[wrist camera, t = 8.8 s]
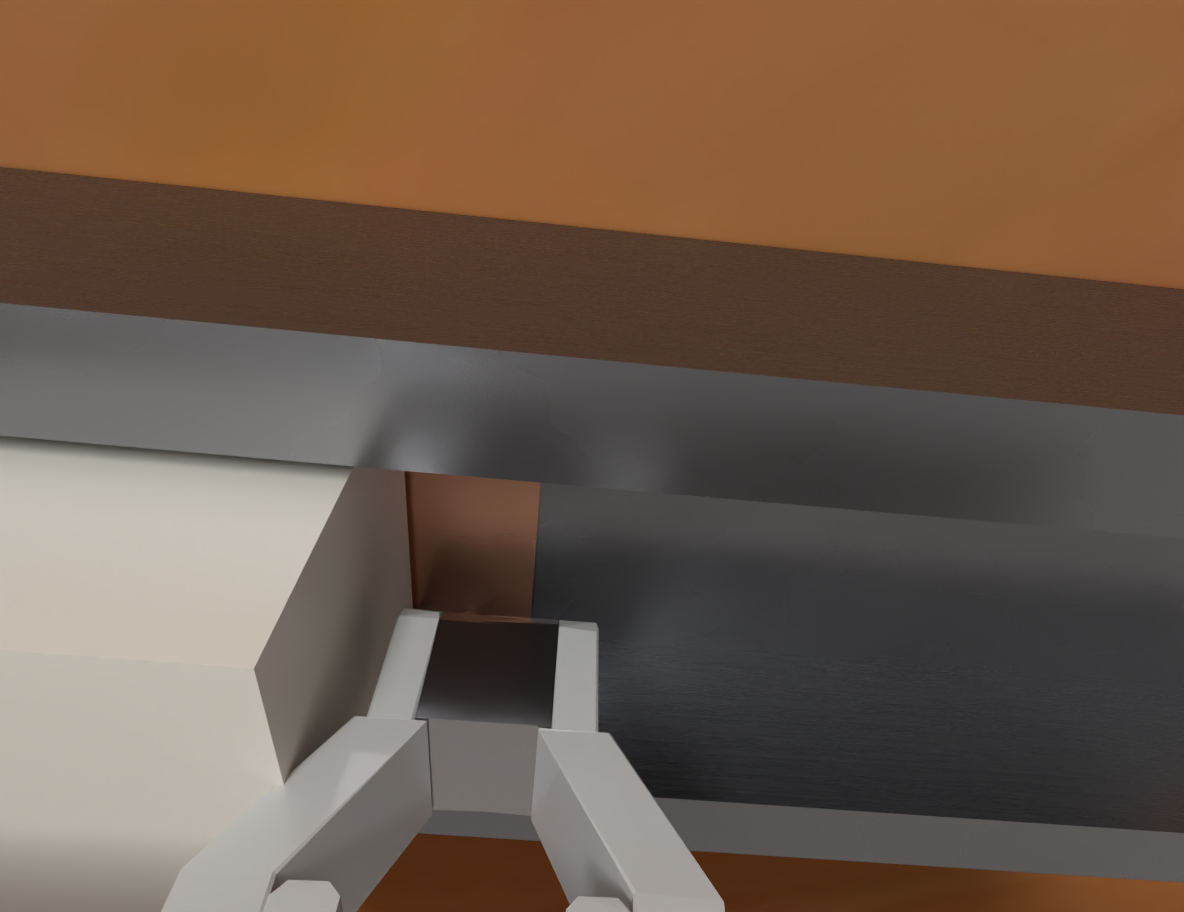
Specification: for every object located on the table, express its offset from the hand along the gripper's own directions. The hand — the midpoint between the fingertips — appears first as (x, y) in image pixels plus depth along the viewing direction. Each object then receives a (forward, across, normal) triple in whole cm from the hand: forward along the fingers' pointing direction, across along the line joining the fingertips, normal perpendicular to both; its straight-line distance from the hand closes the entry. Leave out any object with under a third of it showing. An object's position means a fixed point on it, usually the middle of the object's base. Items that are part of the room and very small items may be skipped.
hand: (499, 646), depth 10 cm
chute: (+4, -3, 0) cm, 5 cm away
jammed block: (+2, +4, 0) cm, 5 cm away
